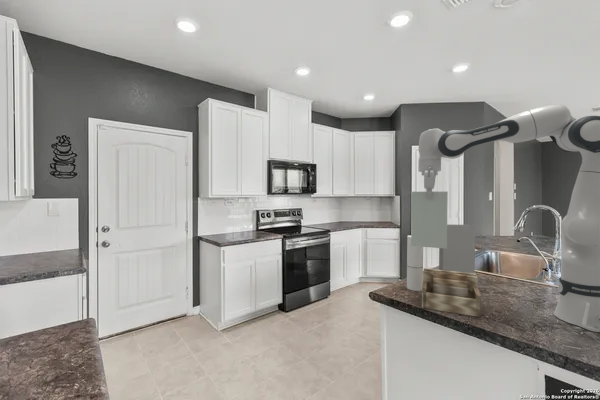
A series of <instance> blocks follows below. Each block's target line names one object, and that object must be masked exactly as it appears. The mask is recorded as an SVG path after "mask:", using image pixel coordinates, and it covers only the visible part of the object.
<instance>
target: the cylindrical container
mask: <svg viewBox="0 0 600 400" xmlns="http://www.w3.org/2000/svg"><path fill="white" fill-rule="evenodd" d="M406 237H407V238H406V243H407V245H406V247H407V248H406V251H407V252H406V253H407V254H406V289H408V290H410V291H416V292H422V285H423V271H424V247H419V246H411V235H409V234H408V235H407V236H406Z"/></svg>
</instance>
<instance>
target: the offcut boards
mask: <svg viewBox="0 0 600 400" xmlns="http://www.w3.org/2000/svg"><path fill="white" fill-rule="evenodd" d="M433 293H436V294H443V295H450V296H457V297H464V298H468V288H467V275H463V274H454V273H445V272H436V271H433Z"/></svg>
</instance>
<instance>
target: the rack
mask: <svg viewBox="0 0 600 400" xmlns="http://www.w3.org/2000/svg"><path fill="white" fill-rule="evenodd" d="M433 271H436V272H445V273H454V274H463V275H467V288H468V298H464V297H457V296H450V295H443V294H436V293H433ZM478 279H479V277H478V276H477V273H475V274H474V273H464V272H455V271H445V270H439V269H436V268H435V269H434V268H424V267H423V285H422V291H421V308H422V309H428V310H434V311H442V312H446V313H452V314H458V315H459V314H460V315H465V316H472V317H478V318H481V316H482V295H481V294H482V293H481V292H480V290H479V288H478V287H479V280H478Z"/></svg>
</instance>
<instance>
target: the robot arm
mask: <svg viewBox="0 0 600 400" xmlns="http://www.w3.org/2000/svg"><path fill="white" fill-rule="evenodd" d="M544 137H545V138H546V137H549V138H550V140H552V142H553V143H554V145H555V146H556V147H557V149H559V150H561V151H564V152H568V153H573V152H574V153H575V152H579V153H580V155H581V165H580V166H579V170H578V173H577V176H576V180H575V184H574V186H573V189H572V192H571V198H570V200H569V204H568V205H569V206H568V209H567V213H566V215H565V216H564V217H563V218H562V220H561V223H560V232H561V233H560V248H561V249H560V252H561V254H560V255H561V257H560V258H561V260H560V277H559V278H558V287H557V289H558V293H559V295H558V301H557V304H556V307H555V309H554V312H553V315H554V316H555V317H556V318H557V319H559V320H561V321H564V322H565V323H568V324H570V325H574V326H578V327H581V328H583V329H585V330H587V331H590V332H594V333H600V115H586V116H584V117H580V118H578V119H576V117H573V116H572V114H571V111H570V109H569V108H568V107H567V106H566V105H564V104H559V103H557V104H550V105H545V106H540V107H535V108H531V109H528V110H525V111H522V112H519V113H516V114H513V115H510V116H508V117H506V118H504V119H501V120H500V121H497V122H495V123H492V124H488V125H483V126H480V127H477V128H473V129H469V130H463V129H462V130H460V129H451V130H447V131H443V130H442V129H440V128H438V127H434V128H428V129H426V130H424V131H422V132H421V133H420V136H419V141H418V154H419V158H418V172H420V173H421V176H423V188H424V189H426V191H425V192H427V199H428V200H431V199H432V192H433V189H434V188H435V186H436V185H435V184H436V177H437V176H438V173H439V172H441V171H442V158H446V159H451V160H452V159H453V160H454V159H458V158H460V157H462V156H463V155H464V153H465V152H466V151H467V150H469V149H470V148H473V147H477V146H480V145H484V144H487V143H493V142H497V141H499V142H500V141H503V142H507V143H511V144H516V143H524V142H528V141H529V142H530V141H532V140H537V139H540V138H544Z"/></svg>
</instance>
